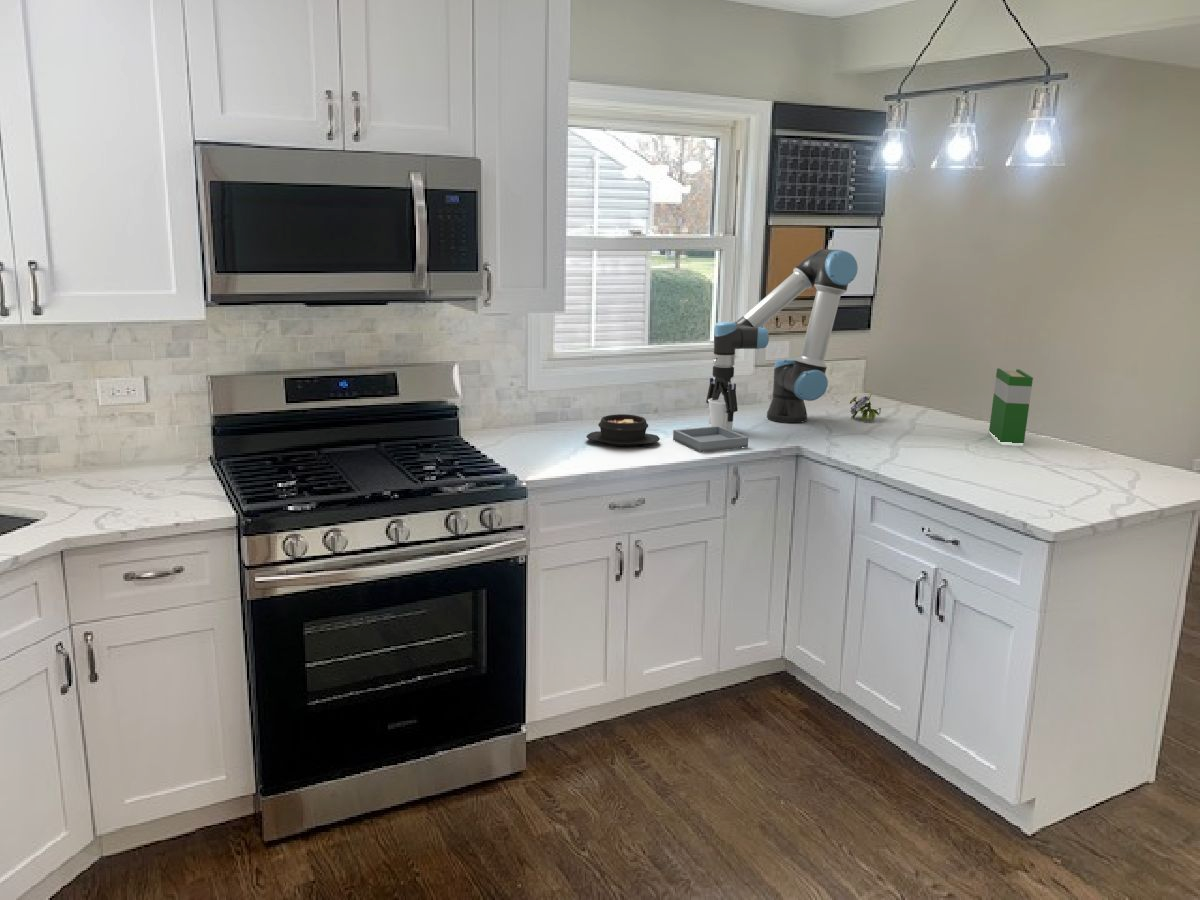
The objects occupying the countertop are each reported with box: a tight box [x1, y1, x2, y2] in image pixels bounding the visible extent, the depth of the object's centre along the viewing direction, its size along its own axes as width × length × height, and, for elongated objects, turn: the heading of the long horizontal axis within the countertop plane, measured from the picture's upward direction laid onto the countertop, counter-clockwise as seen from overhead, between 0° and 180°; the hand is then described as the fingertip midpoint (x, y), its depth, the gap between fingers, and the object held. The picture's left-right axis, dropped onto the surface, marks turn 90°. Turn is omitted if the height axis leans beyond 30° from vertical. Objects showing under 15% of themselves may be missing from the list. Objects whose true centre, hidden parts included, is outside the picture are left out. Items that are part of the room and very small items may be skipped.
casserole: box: [586, 413, 661, 447], centre depth 303 cm, size 25×19×8 cm
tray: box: [672, 426, 749, 453], centre depth 304 cm, size 18×18×4 cm
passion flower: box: [849, 393, 882, 422], centre depth 345 cm, size 11×11×12 cm
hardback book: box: [988, 367, 1034, 444], centre depth 313 cm, size 18×7×24 cm, turn 169°
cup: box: [708, 397, 727, 428], centre depth 323 cm, size 10×10×11 cm
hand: (720, 426), depth 324 cm, fingers open, 10 cm apart
